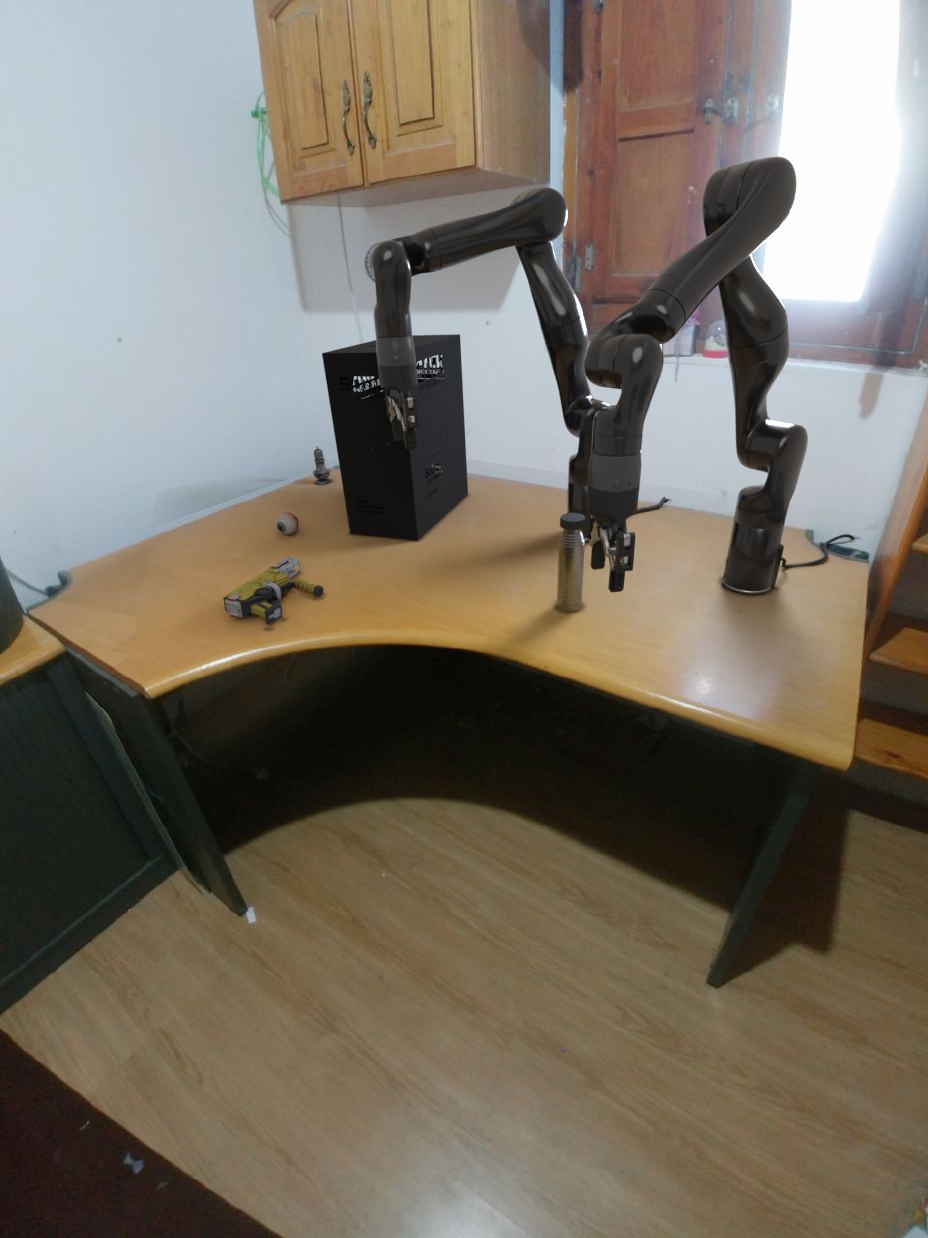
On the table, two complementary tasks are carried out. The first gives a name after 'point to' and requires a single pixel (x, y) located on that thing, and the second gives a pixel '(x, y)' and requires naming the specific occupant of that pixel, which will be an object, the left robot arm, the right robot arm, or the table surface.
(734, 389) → the right robot arm
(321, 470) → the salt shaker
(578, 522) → the cap
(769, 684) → the table surface
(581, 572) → the bottle
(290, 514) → the eyeball
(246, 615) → the toy gun
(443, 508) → the cardboard box
